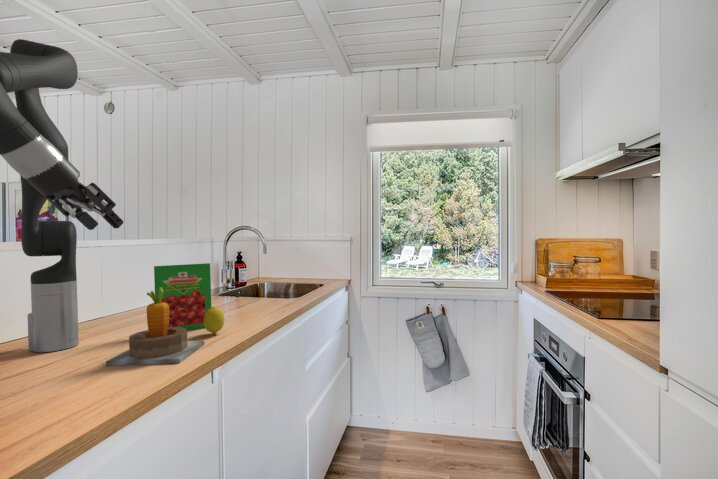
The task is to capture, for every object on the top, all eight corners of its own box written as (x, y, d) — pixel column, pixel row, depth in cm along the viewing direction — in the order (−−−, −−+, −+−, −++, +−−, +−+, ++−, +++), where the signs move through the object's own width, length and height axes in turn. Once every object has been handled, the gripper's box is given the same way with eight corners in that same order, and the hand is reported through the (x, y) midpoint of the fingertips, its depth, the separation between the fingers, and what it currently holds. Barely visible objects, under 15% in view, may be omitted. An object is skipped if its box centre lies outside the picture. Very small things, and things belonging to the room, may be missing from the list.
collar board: (106, 365, 79) (105, 343, 79) (141, 346, 93) (141, 327, 93) (179, 363, 80) (179, 340, 80) (204, 344, 94) (203, 325, 94)
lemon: (217, 337, 101) (216, 308, 101) (199, 336, 102) (199, 308, 102) (228, 331, 106) (227, 304, 106) (211, 331, 107) (210, 304, 107)
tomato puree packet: (155, 334, 105) (153, 266, 105) (156, 333, 106) (154, 266, 106) (212, 327, 113) (210, 263, 112) (211, 326, 114) (210, 263, 113)
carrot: (154, 354, 83) (152, 289, 83) (142, 351, 86) (141, 288, 86) (174, 348, 87) (173, 287, 87) (163, 346, 90) (162, 286, 90)
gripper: (80, 149, 67) (140, 213, 78) (37, 157, 73) (98, 216, 84) (48, 173, 63) (116, 238, 73) (3, 180, 68) (73, 239, 79)
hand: (106, 226), depth 78 cm, fingers open, 8 cm apart
